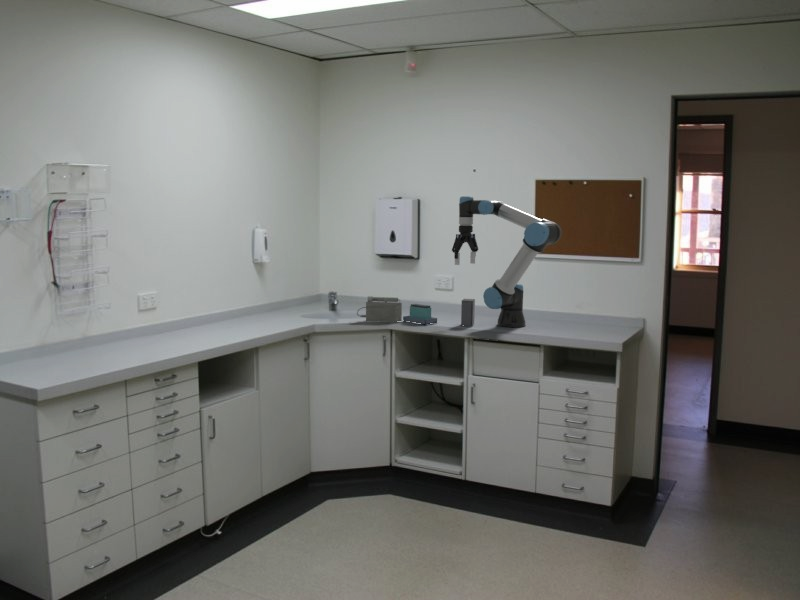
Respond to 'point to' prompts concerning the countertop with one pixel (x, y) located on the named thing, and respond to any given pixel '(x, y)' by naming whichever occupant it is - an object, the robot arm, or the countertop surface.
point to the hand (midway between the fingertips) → (464, 264)
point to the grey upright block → (467, 312)
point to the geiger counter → (383, 309)
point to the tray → (420, 320)
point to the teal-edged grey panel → (420, 311)
